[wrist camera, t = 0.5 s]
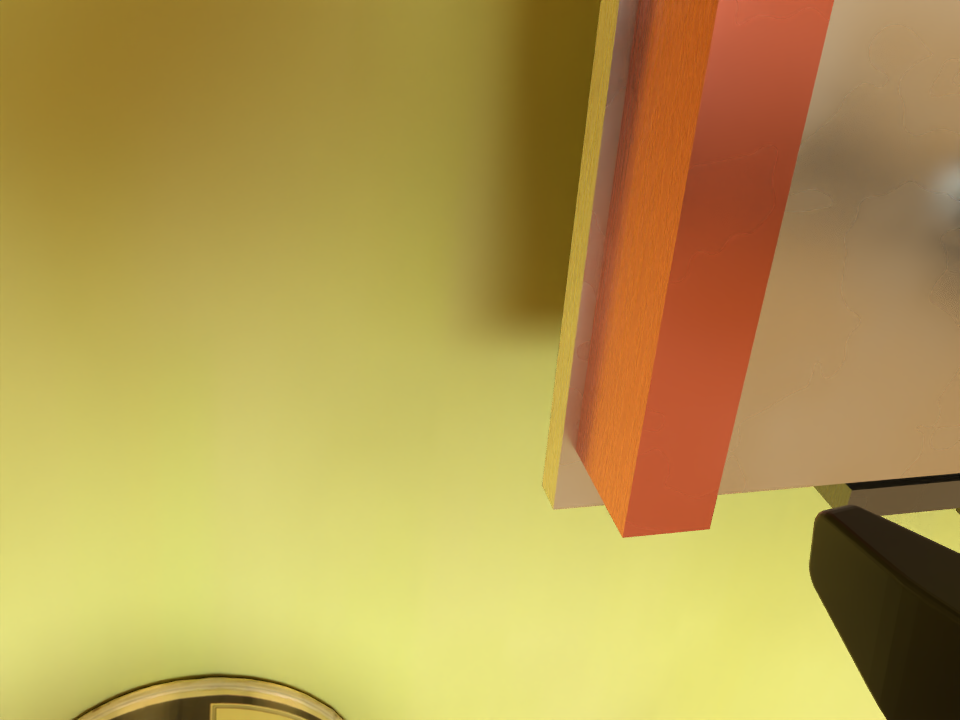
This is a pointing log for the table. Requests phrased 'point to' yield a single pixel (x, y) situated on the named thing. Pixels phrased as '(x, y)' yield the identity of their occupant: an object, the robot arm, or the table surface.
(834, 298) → the lid
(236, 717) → the coffee can
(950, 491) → the grey box
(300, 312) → the table surface
